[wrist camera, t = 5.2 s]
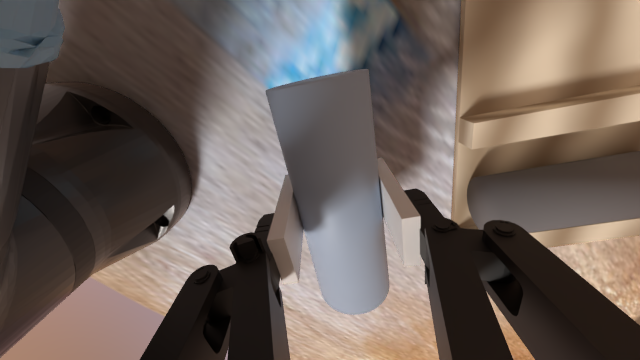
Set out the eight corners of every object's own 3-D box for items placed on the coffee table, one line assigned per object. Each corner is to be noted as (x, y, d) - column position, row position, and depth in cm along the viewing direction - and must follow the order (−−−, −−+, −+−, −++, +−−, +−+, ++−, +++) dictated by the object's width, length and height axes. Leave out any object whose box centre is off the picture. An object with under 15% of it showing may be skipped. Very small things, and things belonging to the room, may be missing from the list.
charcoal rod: (475, 234, 22) (511, 240, 17) (461, 181, 23) (493, 171, 18) (646, 211, 20) (740, 210, 16) (626, 155, 21) (708, 136, 16)
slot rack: (450, 240, 25) (463, 258, 23) (464, -59, 15) (489, -82, 13) (618, 217, 24) (651, 234, 21) (758, -133, 14) (849, -174, 11)
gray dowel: (379, 252, 20) (398, 308, 15) (319, 262, 20) (321, 319, 16) (358, 68, 14) (380, 69, 9) (273, 86, 14) (255, 96, 10)
